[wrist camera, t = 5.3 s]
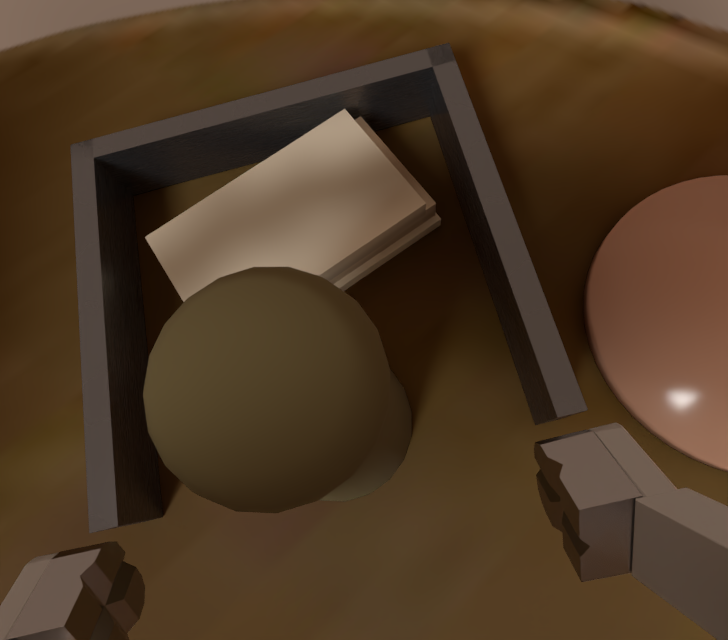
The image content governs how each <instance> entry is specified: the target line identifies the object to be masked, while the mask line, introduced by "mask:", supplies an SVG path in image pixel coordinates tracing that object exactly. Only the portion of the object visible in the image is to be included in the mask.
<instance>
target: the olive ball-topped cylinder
mask: <svg viewBox="0 0 728 640" xmlns="http://www.w3.org/2000/svg"><path fill="white" fill-rule="evenodd" d="M143 399H144V406H145V414H146V421H147V428H148V433H149V435H150V437H151V439H152V441H153V443H154V445H155V447H156V449H157V451H158V453H159V455H160V457H161V459H162V461H163V463H164V465H165V466H166V467H167V468H168V469H169V470H170V471H171V472H172V473H173V474H174V475H175V476H176V477H177V478H178V479H179V480H181V481H182V482H183V483H184V484H185V485H186V486H187V487H188V488H189V489H190V490H191V491H192V492H194V493H196V494H197V495H199V496H201V497H204V498H206V499H208V500H211V501H213V502H215V503H218V504H220V505H223V506H225V507H227V508H230V509H232V510H234V511H240V512H261V513H279V512H282V511H285V510H289V509H292V508H295V507H298V506H302V505H305V504H308V503H312V502H315V501H317V500H325V501H348V500H352V499H355V498H358V497H362V496H365V495H368V494H370V493H372V492H373V491H374V490H376V489H377V488H378V487H380V486H381V485H383V484H384V483H385V482H387V481H388V480H389V479H390V478H391V477H392V475H393V474H394V473H395V471H396V470H397V468H398V467H399V466H400V464H401V463H402V461H403V460H404V458H405V455H406V452H407V449H408V445H409V442H410V439H411V436H412V411H411V408H410V405H409V402H408V398H407V395H406V392H405V389H404V388H403V386H402V385H401V383H400V382H399V380H398V379H397V378H396V376H395V375H394V373H393V372H392V371H391V370H390V368H389V364H388V361H387V357H386V354H385V351H384V348H383V345H382V341H381V338H380V335H379V332H378V329H377V328H376V327H375V325H374V324H373V322H372V321H371V320H370V318H369V317H368V316H367V314H366V313H365V311H364V310H363V309H362V307H361V306H360V304H359V303H358V302H357V301H356V300H355V299H353V298H352V297H351V296H349V295H348V294H346V293H345V292H344V291H342V290H341V289H339V288H338V287H337V286H335V285H334V284H332V283H331V282H329V281H328V280H326V279H324V278H323V277H321V276H317V275H314V274H311V273H308V272H304V271H301V270H298V269H295V268H291V267H252V268H249V269H245V270H242V271H239V272H236V273H232V274H229V275H226V276H223V277H220V278H218V279H216V280H215V281H213V282H212V283H210V284H209V285H207V286H206V287H204V288H202V289H201V290H199V291H198V292H196V293H195V294H193V295H192V296H190V297H189V298H187V299H186V300H185V301H184V303H183V304H182V305H181V306H180V307H179V308H178V309H177V311H176V312H175V313H174V314H173V315H172V316H171V317H170V318H169V320H168V321H167V322H166V323H165V324H164V326H163V328H162V330H161V332H160V334H159V336H158V339H157V341H156V343H155V345H154V347H153V349H152V351H151V353H150V355H149V360H148V366H147V372H146V378H145V384H144V391H143Z"/></svg>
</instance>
